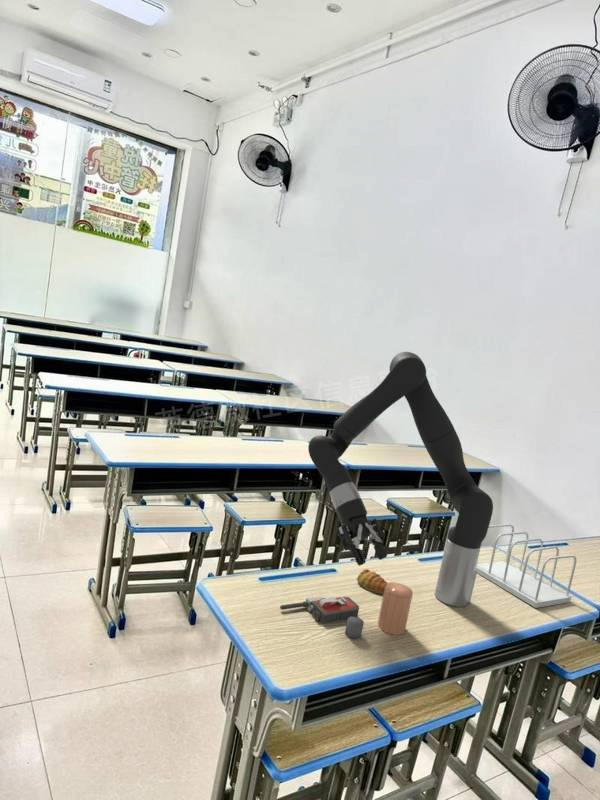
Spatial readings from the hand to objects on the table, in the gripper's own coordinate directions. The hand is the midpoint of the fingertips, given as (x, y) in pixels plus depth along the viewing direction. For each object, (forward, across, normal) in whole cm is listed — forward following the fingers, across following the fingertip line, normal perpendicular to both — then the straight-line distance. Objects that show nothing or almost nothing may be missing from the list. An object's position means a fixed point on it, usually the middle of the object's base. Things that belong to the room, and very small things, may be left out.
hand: (372, 561), depth 139 cm
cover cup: (+16, 0, +3) cm, 16 cm away
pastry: (+4, +13, +15) cm, 20 cm away
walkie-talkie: (+7, -12, +12) cm, 19 cm away
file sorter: (+20, +61, -1) cm, 64 cm away
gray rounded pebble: (+14, -12, +5) cm, 19 cm away
